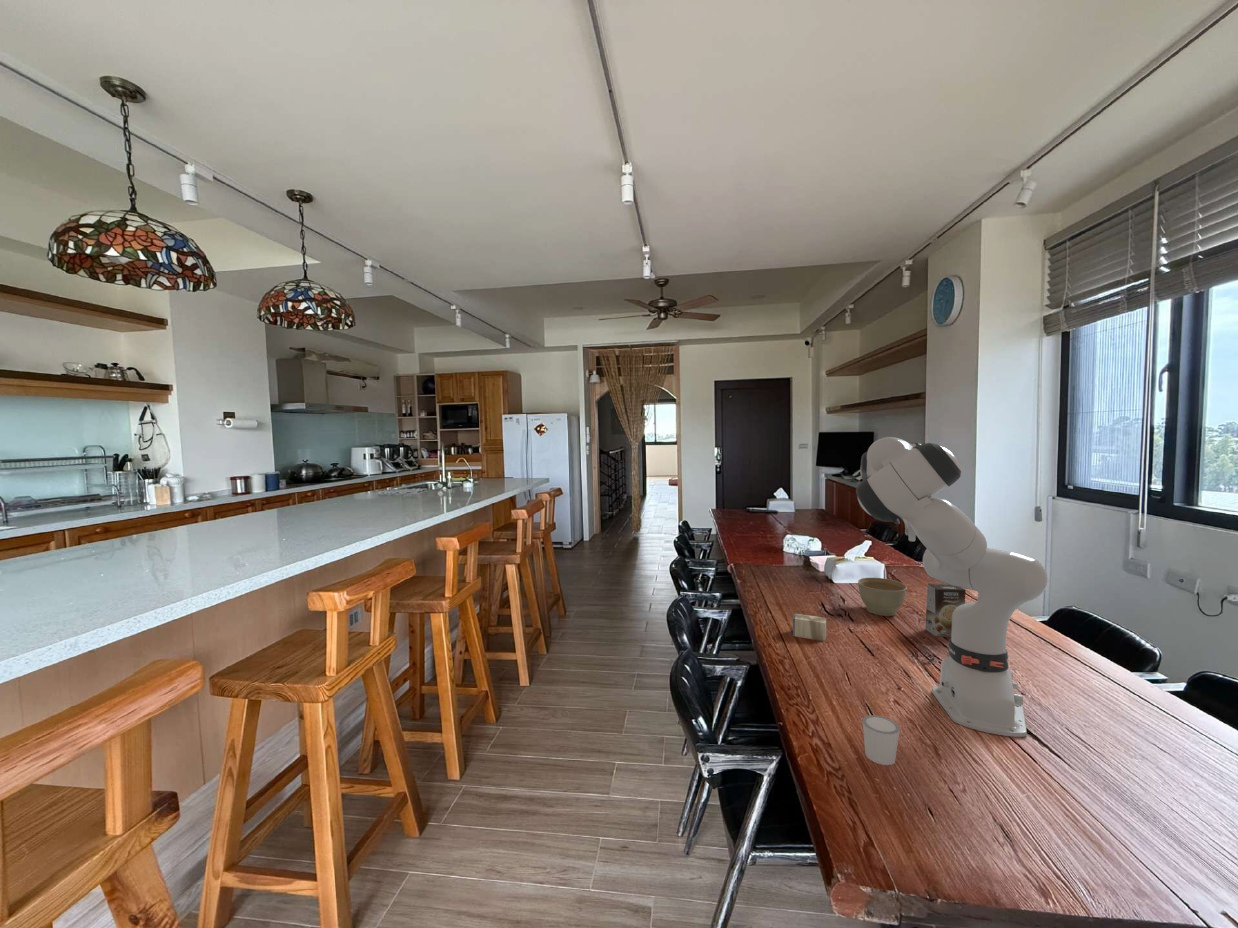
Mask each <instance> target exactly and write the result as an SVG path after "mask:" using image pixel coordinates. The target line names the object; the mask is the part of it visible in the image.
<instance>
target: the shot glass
mask: <svg viewBox="0 0 1238 928" xmlns="http://www.w3.org/2000/svg"><path fill="white" fill-rule="evenodd" d="M862 730H863V743H864V744H863V745H864V755H865V756H866V757H867V759H868V760H870V761H871V762H874V763H875V764H878V765H882V766H891V765H894V764H895V763H896V761H897V760H896V759H897V752H898V751H897V750H898V743H899V739H900V737H899V735H900V726H899V724H898V723H896V722H895V721H893V720H892V719H889V718H887V717H884V716H882V715H877V714H876V715H866V716H864V717H863V718H862Z"/></svg>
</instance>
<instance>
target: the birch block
mask: <svg viewBox="0 0 1238 928" xmlns="http://www.w3.org/2000/svg"><path fill="white" fill-rule="evenodd" d="M792 637H796V638H797V637H798V638H804V639H809V640H815V641H821V642H826V638H827V617H823V616H814V615H808V614H801V613H794V615H793V618H792Z"/></svg>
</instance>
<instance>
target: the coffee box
mask: <svg viewBox="0 0 1238 928" xmlns="http://www.w3.org/2000/svg"><path fill="white" fill-rule="evenodd" d="M926 586H927V589H926V611H925V628H924V629H925V630H926V631H928V633H930V634H932V636H934V637H943V638H944V637H947V638H948V637H949V638H951V632H952V614H953V611H954V610H955V609H956V608H957V607H958V606H960V605H963V604H966V591H967V589H965V588H961V587H957V586H953V585H949V584H946V583H927V585H926Z"/></svg>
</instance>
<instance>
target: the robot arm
mask: <svg viewBox="0 0 1238 928" xmlns="http://www.w3.org/2000/svg"><path fill="white" fill-rule="evenodd" d="M859 470H860V471H859V472H860V476H861V479H862V481H861V482H860V483H859V484H858V485H857V487H856V488H855V494H856V497H857V501H858V504H859V506H860V507H861V509H862V510H864V511H865V513H867V514H868V515H869V516H871V517H872V518H874V519H876V520H878V521H881V522H885V523H887V522H890V523H891V522H893V523H894V524H895V525H900V524H901V522H900V520H902V522H904V528H905V529H904V534H905V535H906V536H908V539H907V540H908V541H909V542H915V541H916V537H917V538H918V539H919V541H920V542H921V543H922V545H923V546H924V547H925V548H926V549H925V551H924V552H923V555H922V566H923V568H924V570H925V573H926V574H927V575H928V577H930V578H932V579H934V580H937V581H939V582H941V583H943V584H949V585H953V586H957V587H961V588H963V589H965V590H970V591H975V592H977V593H978V594H977V600H976V601H972V602H967V603H966V602H965V604H963V605H960V606H958V607H957V608H956V609H955V610H954V611H953V614H952V632H951V637H950V639H949V641H948V656H947V657H946V658H945V659H943V660H942V661H941V665H940V675H939V686H938V685H937V686H932V688H931V693H932V694H933V696H934V697H935V698H936V700H937V701H938V703H939V704H940V705H941V707H942V708H943V709H944V711H945V712H946V713H947V714H948V716H949V717H950V719H951V721H953V722H954V723H956V724H957V725H960V726H964V727H965V728H969V729H973V730H976V731H979V732H983V733H988V734H993V735H999V736H1005V737H1014V738H1018V737H1019V738H1022V737H1023V738H1024V737H1027V736H1028V732H1027V726H1026V725H1027V724H1026V719H1025V712H1024V705H1023V704H1024V698H1023V695H1022V694H1017V693H1014V689H1015V690H1017V689H1018V683H1017V682H1014V681H1013V672H1012V671H1011V670H1010V668H1009V662H1010V661H1009V655H1008V653H1009V652H1008V650H1007V649H1006V646H1007V635H1008V627H1009V623H1010V622H1009V621H1010V619H1011V617H1012V616H1013V615H1014V612H1015V611H1016V610H1017V609H1019V607H1021V606H1023V605H1024V604H1026V603H1028V602H1032V601H1033V600H1035V599H1037V598H1039V597H1040V596H1041V595H1043V593H1044V592H1045V591H1046V589H1047V586H1048V574H1047V572H1046V569H1045V568H1044V566H1043V564H1042V563H1041V561H1039V560H1038V559H1035V558H1032V557H1029V556H1026V555H1023V554H1021V553H1017V552H1014V551H1009V550H1008V551H1007V550H1002V549H995V548H990V547H988V545H987V543H988V542H987V539H986V537H985V535H984V534H983V533H982V531H981V530H980V529H979V528H978V527H977V525H976V524H975V523H974V522H973V521H972V520H971V518H969V516H968V515H967V514H966V513H964V511H962V509H960V508H958V506H957V505H954V504H953V503H951V502H950V501H948V500H947V499H943V498H939V497H934V496H936V495H937V494H938V493H940V492H941V491H943V490H944V489H946V488H947V487H951V486H952V485H954V484H955V483H956V482H957V481H958V480H959V479H960V478H961V476H962V475H961V474H962V471H961V469H960V463H959V461H958V459H957V457H956V455H954V453H953V452H952V451H951V450H949V449H948V448H946V447H944V446H941V445H940V444H939V443H935V442H933V443H932V442H927V443H926V442H925V443H920V442H908V441H906V440H904V439H902V438H899V437H894V436H886V437H882V438H879V439H877V440H875V441H874V442H872V444H871V445H870V446H869V447H868V449H867V451H866V452H864V453H863V454H862V456H861V458H860V469H859Z"/></svg>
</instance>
